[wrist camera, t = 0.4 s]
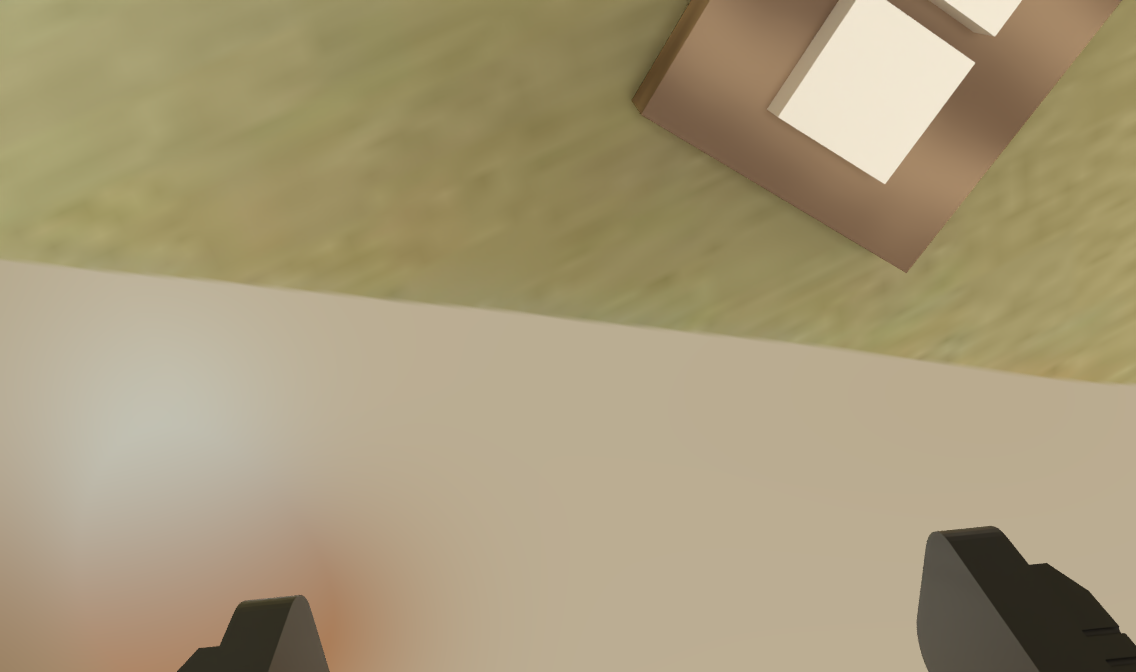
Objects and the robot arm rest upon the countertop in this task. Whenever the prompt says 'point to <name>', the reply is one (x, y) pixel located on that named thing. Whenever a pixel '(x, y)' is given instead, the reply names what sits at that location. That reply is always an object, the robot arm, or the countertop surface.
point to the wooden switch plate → (818, 175)
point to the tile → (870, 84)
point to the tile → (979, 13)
